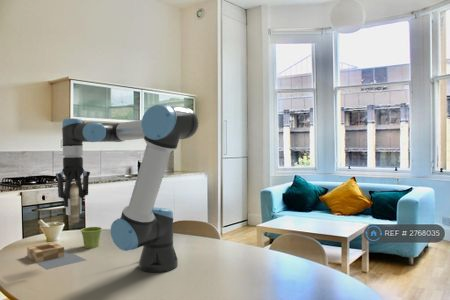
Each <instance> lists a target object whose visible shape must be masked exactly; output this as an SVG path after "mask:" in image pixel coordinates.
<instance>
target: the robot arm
mask: <svg viewBox="0 0 450 300" xmlns="http://www.w3.org/2000/svg"><path fill="white" fill-rule="evenodd" d="M198 129H199V119H198V116H197V114H196V113H195V112H194V110H192V109H191V108H189V107H186V106H178V105H172V104H171V105H170V104H166V103H164V104H163V103H162V104H155V105H151V106H150V107H149V108H148V109H146V111H145V112H144V113H143V116H142V117H141V119H138V120H132V121H124V122H117V123H101V122H95V121H93V122H92V121H91V122H83V120H82V119H81V118H73V117H71V118H64V119H63V120H62V128H61V131H62V133H61V134H62V167H63V168H62V170H61V171H60V172H56V173H55V177H56V178H57V179H56V180H57V192H58V193H57V194H58V195H57V196H58V198H61V199H62V201H63V207H64V208H65V215H67V216H69V215H71V206H70V199H68V197H69V192H70V186H71V184H72V183H73V180H74V182H75V184H77V186H78V187H79V215H81V214H82V213H83V210H82V209H83V207H82V206H84V203H85V202H84V201H85V200H84V198H85V197H86V196H89V177H90V174H91V171H87V170H84V158H83V155H84V153H83V151H84V149H83V148H84V147H83V142H84V143H103V142H104V143H105V142H106V143H107V142H109V143H110V142H111V143H122V142H125V141H132V140H143V141H145V142H144V143H146V147H145V149H144V153H143V157H142V160H141V163H140V166H139V169H138V173H137V176H136V180H135V182H134V187H133V190H132V193H131V197H130V200H129V204H128V205H127V206H125V207H123V209H122V212H121V215H120V218H117V219H115V220H114V221H112V223H111V225H110V236H111V239H112V242H113V243H114V245H115V246H116V247H117V248H118V249H120V250H121V251H124V252H125V251H127V252H128V251H134V250H136V249H138V248H141V247H142V251H141V254H140V256H139V257H140V258H139V260H138V268H139V270H141V271H144V272H148V273H149V272H150V273H162V272H167V271H171V270H174V269H175V268H176V269H177V267H178V265H179V260H178V257H177V254H176V250H175V246H174V214H173V213H174V211H173V210H172V209H171V208H168V207H167V208H166V207H155V204H156V200H157V197H158V193H159V191H160V187H161V184H162V181H163V179H164V175H165V172H166V169H167V168H166V167H167V166H168V162H169V160H170V156H171V152H172V151H174V150H177V149H178V145H179V142H180V140H186V139H190V138H191V137H193V136H194V135H195V134H196V132H197V130H198ZM64 177H65V184H64V179H63V178H64ZM82 177H83V178H82ZM82 215H83V214H82Z"/></svg>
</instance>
